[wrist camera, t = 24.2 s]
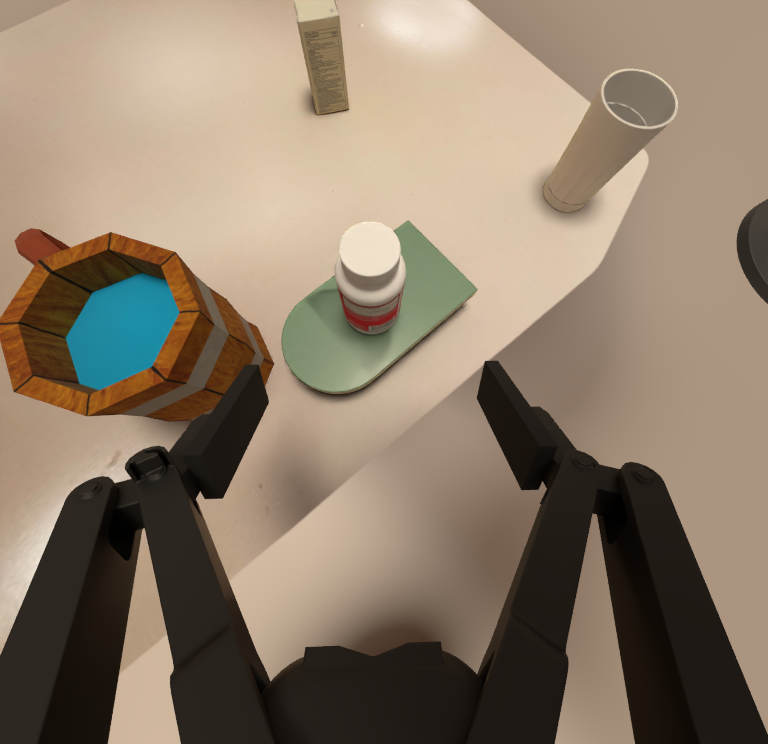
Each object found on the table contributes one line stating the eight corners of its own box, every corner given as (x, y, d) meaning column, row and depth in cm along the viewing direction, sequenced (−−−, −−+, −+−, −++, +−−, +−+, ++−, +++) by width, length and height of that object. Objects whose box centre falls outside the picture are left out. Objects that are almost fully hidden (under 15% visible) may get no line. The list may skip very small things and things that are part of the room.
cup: (541, 164, 42) (604, 61, 31) (595, 176, 42) (679, 77, 30) (534, 210, 41) (598, 118, 29) (590, 222, 40) (677, 136, 29)
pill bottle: (361, 276, 33) (355, 199, 23) (408, 300, 33) (425, 234, 22) (333, 319, 32) (312, 261, 21) (382, 346, 32) (385, 299, 21)
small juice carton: (343, 88, 44) (334, -10, 35) (349, 110, 44) (341, 15, 34) (310, 93, 44) (291, -6, 34) (315, 115, 43) (297, 21, 33)
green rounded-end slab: (404, 241, 39) (408, 219, 35) (467, 304, 37) (478, 289, 33) (271, 343, 35) (258, 332, 32) (334, 418, 34) (328, 415, 30)
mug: (297, 361, 35) (241, 308, 20) (213, 450, 33) (81, 462, 18) (186, 265, 37) (63, 155, 23) (99, 341, 35) (-100, 273, 20)
